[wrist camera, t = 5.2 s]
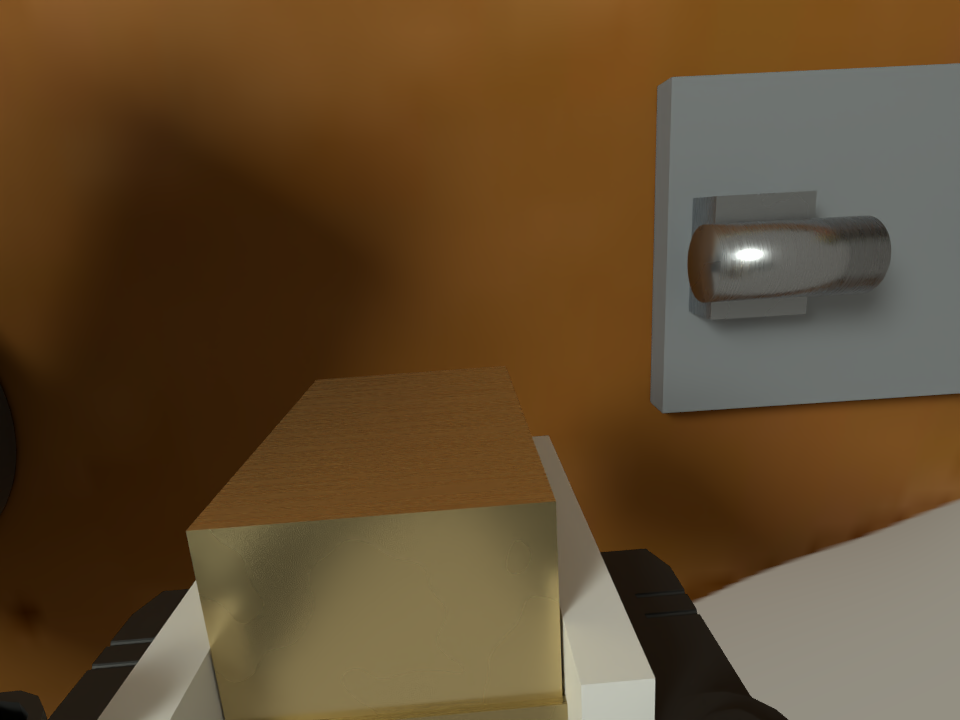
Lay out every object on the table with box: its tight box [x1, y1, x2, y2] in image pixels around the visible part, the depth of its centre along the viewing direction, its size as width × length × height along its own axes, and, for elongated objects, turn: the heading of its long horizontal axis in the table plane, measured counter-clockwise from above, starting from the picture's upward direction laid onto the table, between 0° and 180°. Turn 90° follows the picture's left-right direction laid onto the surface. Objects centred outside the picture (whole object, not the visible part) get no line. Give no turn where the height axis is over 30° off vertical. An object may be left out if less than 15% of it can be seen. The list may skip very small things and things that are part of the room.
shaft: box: [687, 191, 891, 320], centre depth 20 cm, size 6×4×5 cm
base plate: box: [650, 63, 960, 413], centre depth 23 cm, size 22×13×2 cm, turn 93°
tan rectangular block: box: [186, 366, 568, 720], centre depth 10 cm, size 6×4×6 cm
